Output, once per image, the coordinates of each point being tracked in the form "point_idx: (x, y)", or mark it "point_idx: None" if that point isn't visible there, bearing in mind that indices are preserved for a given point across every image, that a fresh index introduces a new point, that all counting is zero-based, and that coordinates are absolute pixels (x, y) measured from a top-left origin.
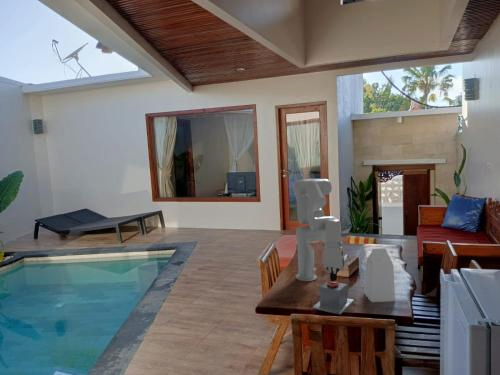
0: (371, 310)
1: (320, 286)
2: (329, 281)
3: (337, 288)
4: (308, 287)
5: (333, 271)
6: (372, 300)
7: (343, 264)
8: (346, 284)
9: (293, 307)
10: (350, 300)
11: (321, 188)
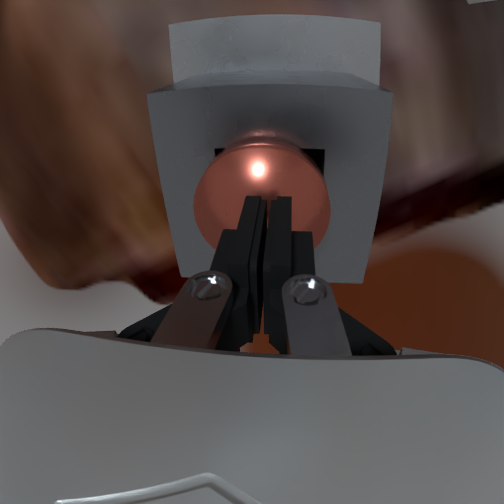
0: (491, 124)
1: (179, 268)
2: (210, 203)
3: (336, 250)
4: (22, 10)
5: (247, 304)
6: (477, 1)
7: (499, 381)
8: (391, 105)
9: (125, 262)
10: (364, 45)
11: None
